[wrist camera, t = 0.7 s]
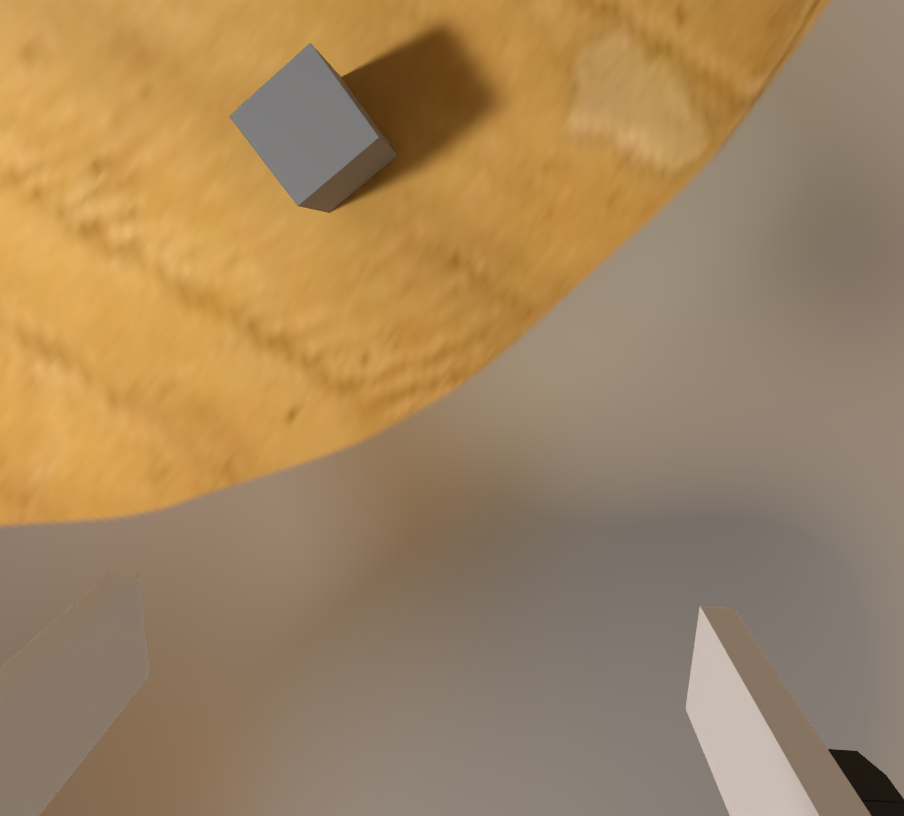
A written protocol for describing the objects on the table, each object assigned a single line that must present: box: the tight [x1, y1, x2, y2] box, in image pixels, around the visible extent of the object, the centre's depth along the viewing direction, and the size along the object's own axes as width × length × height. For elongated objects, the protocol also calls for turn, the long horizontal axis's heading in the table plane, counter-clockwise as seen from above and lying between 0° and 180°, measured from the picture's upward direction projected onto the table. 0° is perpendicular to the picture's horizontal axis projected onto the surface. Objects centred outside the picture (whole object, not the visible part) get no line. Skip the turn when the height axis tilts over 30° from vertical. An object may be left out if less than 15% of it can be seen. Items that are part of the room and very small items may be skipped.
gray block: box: [229, 43, 398, 213], centre depth 33 cm, size 5×5×6 cm
